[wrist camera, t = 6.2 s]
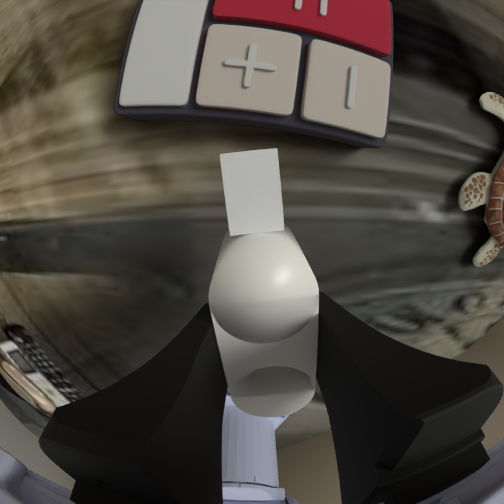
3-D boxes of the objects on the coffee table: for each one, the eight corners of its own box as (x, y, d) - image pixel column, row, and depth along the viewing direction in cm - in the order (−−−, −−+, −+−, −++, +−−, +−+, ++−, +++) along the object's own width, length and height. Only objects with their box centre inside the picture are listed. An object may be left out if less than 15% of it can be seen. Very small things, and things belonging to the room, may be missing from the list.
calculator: (393, 150, 12) (105, 114, 11) (359, 148, 17) (133, 121, 15) (398, -4, 9) (150, -43, 7) (370, 17, 13) (164, -13, 11)
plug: (300, 355, 13) (313, 412, 9) (239, 361, 13) (237, 419, 9) (290, 147, 9) (312, 145, 6) (206, 156, 9) (184, 159, 6)
